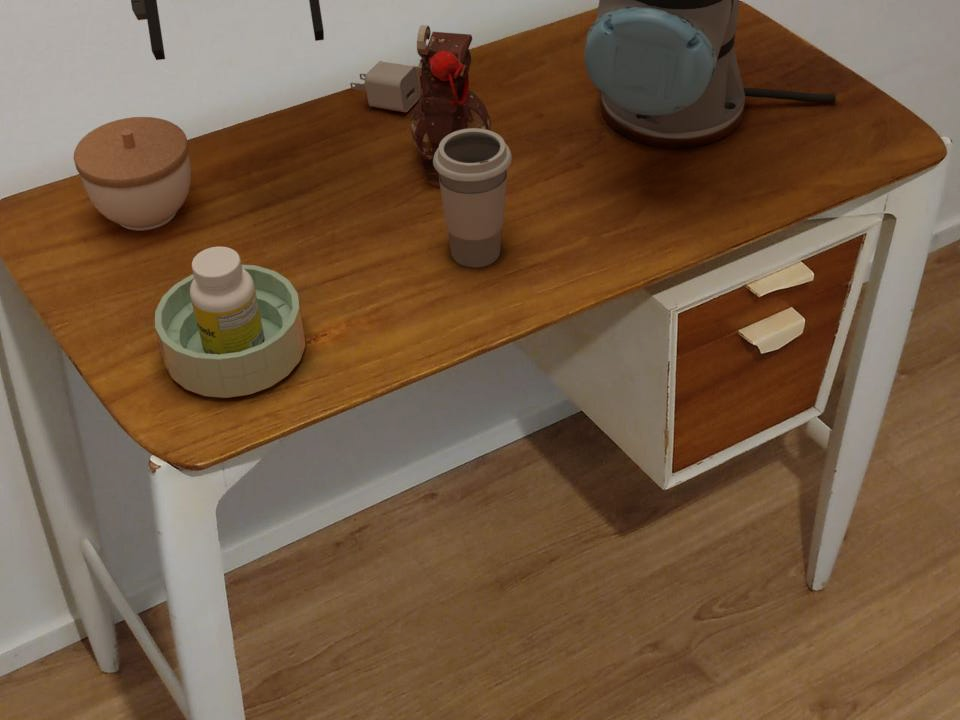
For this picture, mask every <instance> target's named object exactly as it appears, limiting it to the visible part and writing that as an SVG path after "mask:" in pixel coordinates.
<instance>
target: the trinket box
mask: <svg viewBox="0 0 960 720" xmlns="http://www.w3.org/2000/svg"><path fill="white" fill-rule="evenodd" d="M73 161H74V166H75V169H76V171H77V173H78V175H79V178H80V181H81V185H82V187H83V189H84V191H85V194H86V195H87V197H88V199H89V201H90V202H91V204H92V205H93V206H94V207H95V209H96V210H97V211H98V212H99V213H100V215H102V216H104V218H106V219H108V220H109V221H111V222H114V223H116V224H117V225H119V226H121V227H122V228H125V229H127V230H130V231H138V232H139V231H142V232H143V231H150V230H155V229H158V228H160V227H162V226H164V225H166V224H168V223H170V221H171V220H173V219H174V217H175V216H176V214H177V213H178V211H179V210H180V209H181V207H182V206H183V205H184V203H185V201H186V200H187V197H188V195H189V191H190V188H191V184H192V183H191V182H192V169H191V168H192V166H191V158H190V152H189V141H188V138H187V135H186V133H185V132H184V130H183V129H182V128H180V126H179V125H177V124H175V123H174V122H172V121H169V120H167V119H163V118H159V117H152V116H132V117H126V118H121V119H116V120H113V121H110V122H107V123H105V124H102V125H99V126H97V127H96V128H94V129H93V130H91V131H89V132H88V133H87V134H85V136H83V137H82V138H81V139H80V140H79V141H78V143H77V145H76V147H75V149H74V152H73Z"/></svg>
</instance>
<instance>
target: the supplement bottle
mask: <svg viewBox="0 0 960 720" xmlns="http://www.w3.org/2000/svg"><path fill="white" fill-rule="evenodd" d="M241 264H242V261H241V256H240V255H239V253H238V252H237V251H236V250H235V249H233V248H230V247H228V246H212V247H208V248H205V249H203V250H201V251H199V252H198V253H197V254H196V255H195V256H194V257H193V259H192V262H191V269H192V274H193V275H194V280H193V281H192V283H191V286H190V297H191V302H192V306H193V309H194V313H195V317H196V322H197V326H198V330H199V333H200V338H201V342H202V346H203V350H204V353H206V354H219V355H220V354H227V353H234V352H241V351H243V350H246V349H249V348H252V347H255V346H257V345H260V344H262V343H263V342H265V337H264V331H263V326H262V321H261V316H260V311H259V307H258V301H257V296H256V291H255V286H254V282H253V279H252V277H251V276H250V274H249V273H248V272H247V271H246V270H244V269H243V268H242V265H243V264H242V265H241Z"/></svg>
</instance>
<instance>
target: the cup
mask: <svg viewBox="0 0 960 720" xmlns="http://www.w3.org/2000/svg"><path fill="white" fill-rule="evenodd" d="M512 160H513V155H512V151H511V149H510V147H509V146H508V144H507V143H506V141H505V140H504V138H503V137H502V136H501V135H500V134H499V133H496V132H495V131H492V130H491V129H490V130H486V129H479V128H469V129H462V130H458V131H455V132H453V133H451V134H449V135H447V136H446V137H444V138H443V139H442V140H441V142H440V144H439V148H438V149H437V151H436V152H435V154H434V158H433V165H434V167H435V169H436V170H437V171H438V172H439V182H440V187H439V188H440V194H441V195H440V196H441V201H442V209H443V215H444V222H445V228H446V230H447V234H448V239H449V240H448V242H449V247H450V253H451V258H452V259H453V260H454V262H456V263H457V264H459V265H460V266H463V267H466V268H475V269H476V268H483V267H486V266H490V265H492V264H493V263H494V262H496V261H497V259H499V257H500V254H501V242H502V228H503V226H504V219H505V206H506V193H507V182H508V171H507V169H508V168H509V167H510V165H511V163H512V162H513V161H512Z"/></svg>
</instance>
